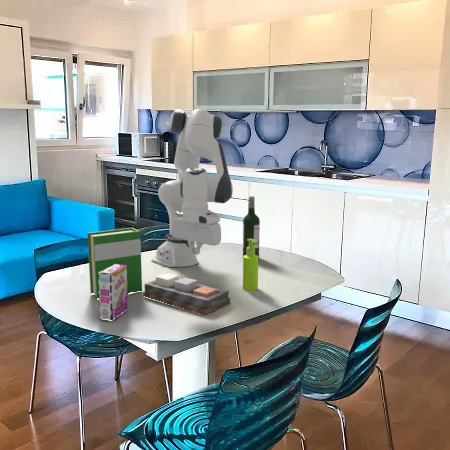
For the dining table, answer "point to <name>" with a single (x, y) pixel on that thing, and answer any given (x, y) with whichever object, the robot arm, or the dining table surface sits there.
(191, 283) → the grey key
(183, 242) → the robot arm
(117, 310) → the candy bar box
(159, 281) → the cream key
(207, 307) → the compartment tray
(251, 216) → the wine bottle
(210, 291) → the terracotta key
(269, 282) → the dining table surface
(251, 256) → the soap dispenser
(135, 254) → the hardback book
